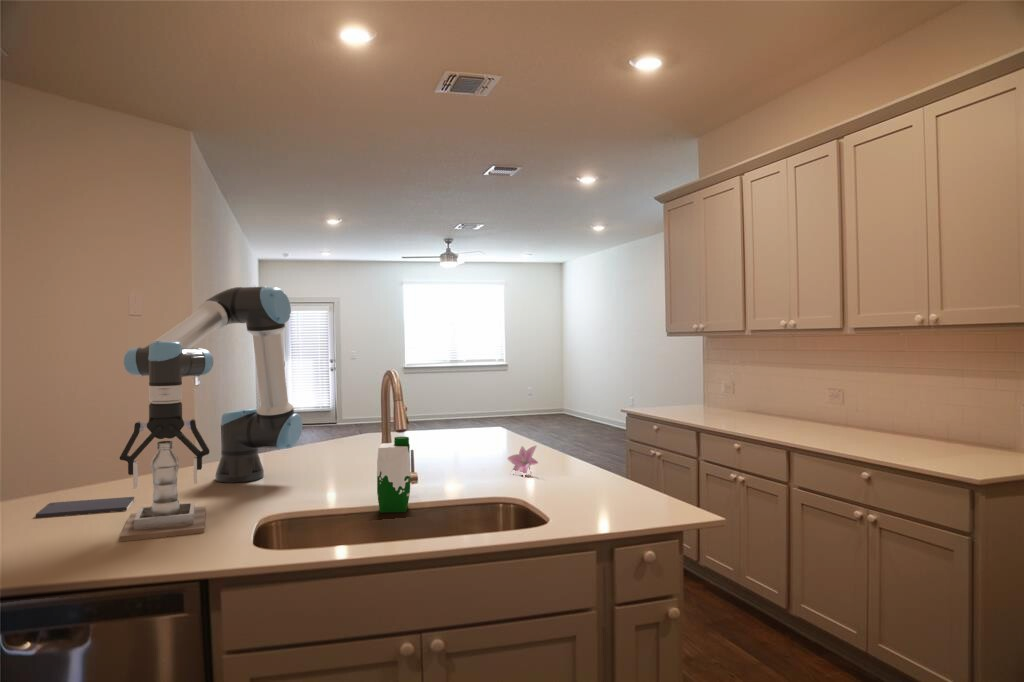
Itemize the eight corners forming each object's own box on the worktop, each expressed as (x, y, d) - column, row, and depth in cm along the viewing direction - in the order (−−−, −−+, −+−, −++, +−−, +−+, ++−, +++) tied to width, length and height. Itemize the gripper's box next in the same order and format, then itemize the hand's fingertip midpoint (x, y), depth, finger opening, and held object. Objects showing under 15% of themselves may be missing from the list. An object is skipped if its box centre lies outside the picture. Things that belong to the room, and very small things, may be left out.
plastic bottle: (168, 524, 167) (167, 444, 166) (144, 522, 168) (144, 443, 168) (186, 517, 173) (185, 440, 173) (163, 516, 174) (162, 439, 174)
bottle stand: (130, 518, 177) (130, 504, 177) (205, 510, 184) (205, 497, 184) (119, 541, 157) (119, 526, 157) (204, 532, 164) (204, 517, 164)
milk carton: (409, 513, 182) (409, 439, 182) (375, 513, 181) (375, 440, 181) (411, 504, 191) (411, 435, 191) (379, 505, 190) (379, 435, 190)
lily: (506, 473, 239) (499, 452, 235) (534, 458, 243) (528, 437, 239) (520, 490, 229) (514, 468, 225) (550, 475, 233) (544, 453, 228)
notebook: (35, 520, 177) (126, 512, 184) (35, 514, 177) (126, 507, 184) (49, 508, 189) (135, 501, 196) (49, 502, 189) (135, 496, 196)
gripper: (106, 405, 162) (107, 492, 162) (219, 401, 172) (219, 483, 172) (111, 402, 168) (111, 486, 169) (219, 398, 178) (219, 477, 179)
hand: (166, 485), depth 170 cm, fingers open, 13 cm apart
